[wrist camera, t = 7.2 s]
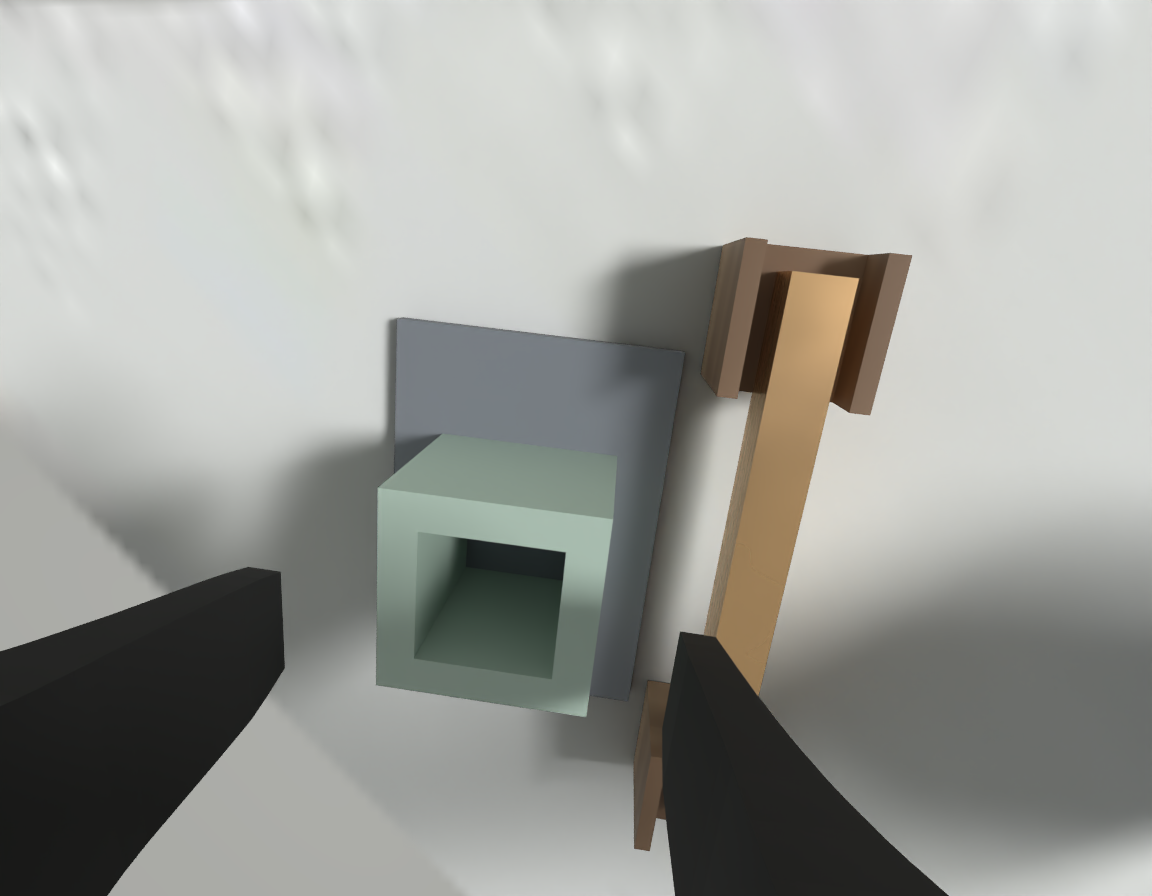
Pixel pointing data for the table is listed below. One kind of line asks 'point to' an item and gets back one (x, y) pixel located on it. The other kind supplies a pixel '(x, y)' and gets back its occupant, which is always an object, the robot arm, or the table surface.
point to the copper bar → (777, 461)
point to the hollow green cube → (492, 573)
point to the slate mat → (552, 443)
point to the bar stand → (733, 370)
